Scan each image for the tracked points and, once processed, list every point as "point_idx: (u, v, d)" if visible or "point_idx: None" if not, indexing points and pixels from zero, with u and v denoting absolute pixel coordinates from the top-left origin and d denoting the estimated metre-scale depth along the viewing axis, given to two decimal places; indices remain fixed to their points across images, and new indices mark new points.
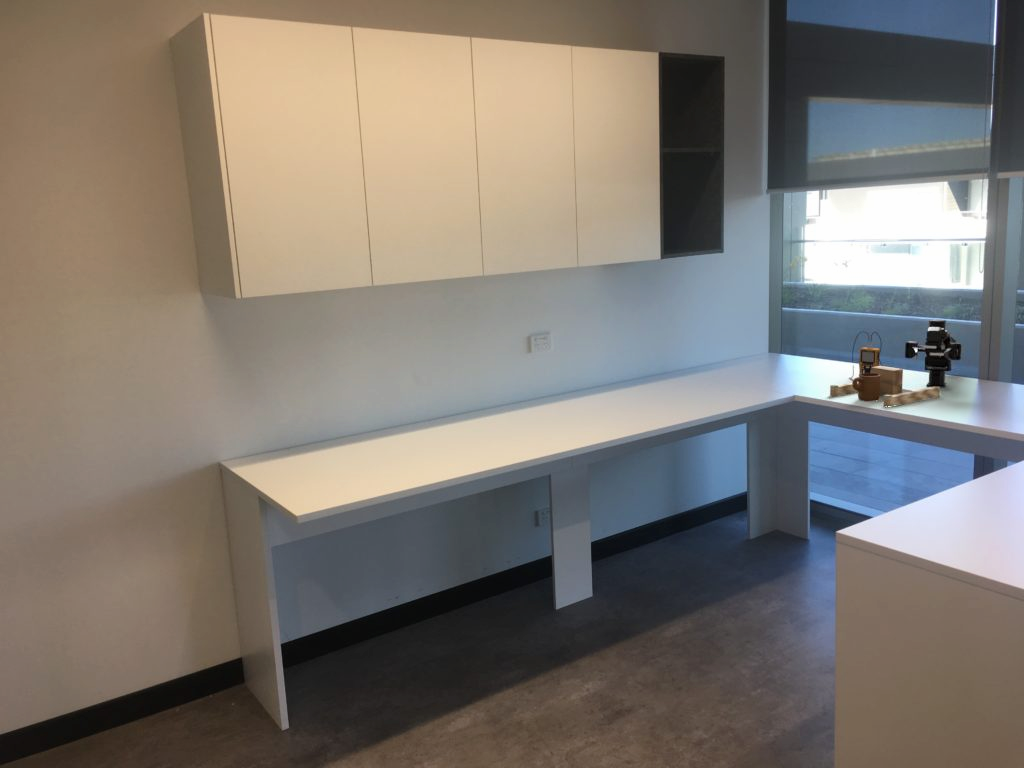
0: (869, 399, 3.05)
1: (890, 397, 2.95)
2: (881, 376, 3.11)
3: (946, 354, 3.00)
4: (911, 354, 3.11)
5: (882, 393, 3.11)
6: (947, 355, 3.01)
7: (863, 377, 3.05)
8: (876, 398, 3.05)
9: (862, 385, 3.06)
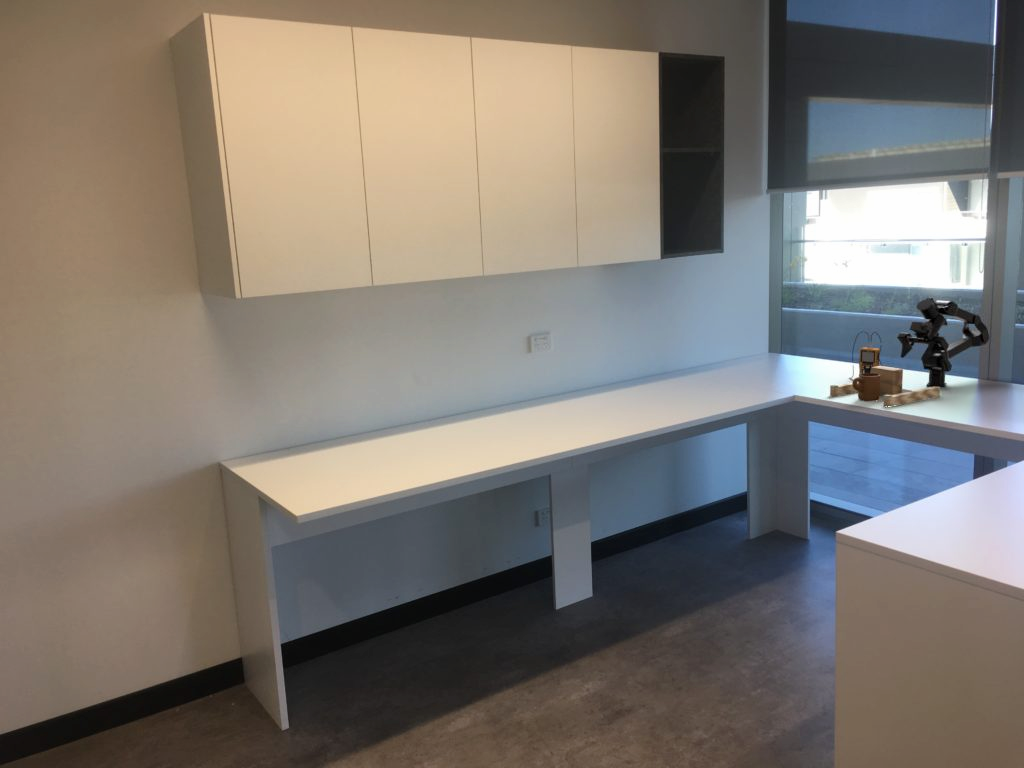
0: (869, 399, 3.05)
1: (890, 397, 2.95)
2: (881, 376, 3.11)
3: (925, 357, 3.12)
4: None
5: (882, 393, 3.11)
6: (927, 356, 3.13)
7: (863, 377, 3.05)
8: (876, 398, 3.05)
9: (862, 385, 3.06)
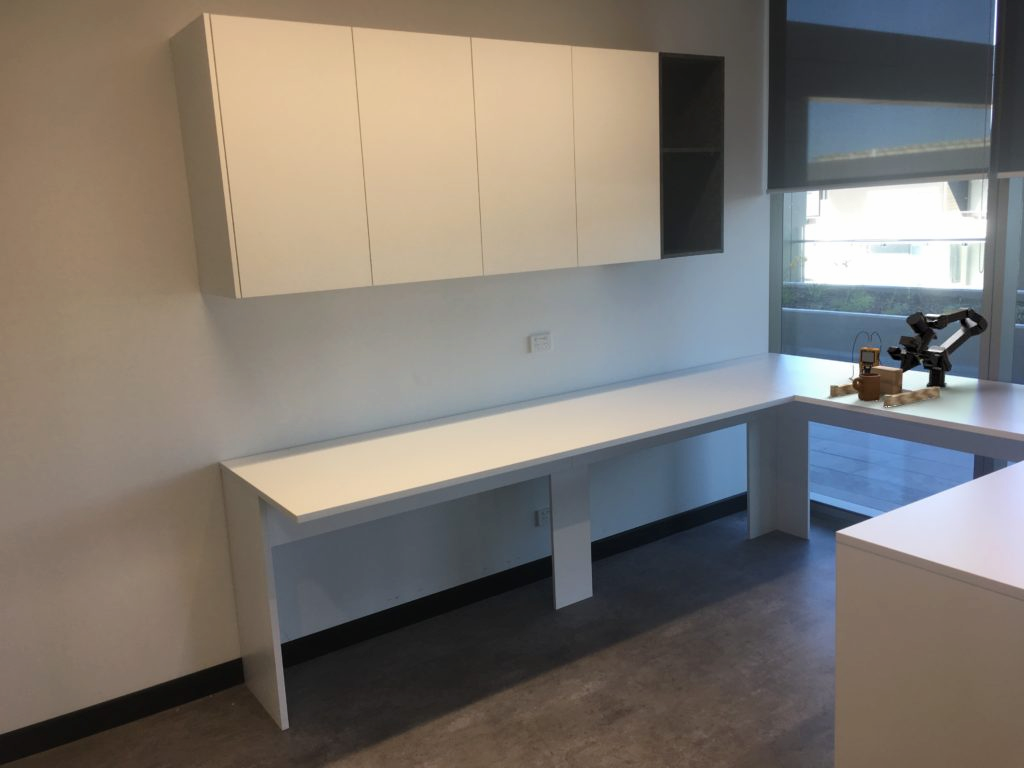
0: (869, 399, 3.05)
1: (890, 397, 2.95)
2: (881, 376, 3.11)
3: (904, 370, 3.15)
4: None
5: (882, 393, 3.11)
6: (906, 369, 3.15)
7: (863, 377, 3.05)
8: (876, 398, 3.05)
9: (862, 385, 3.06)
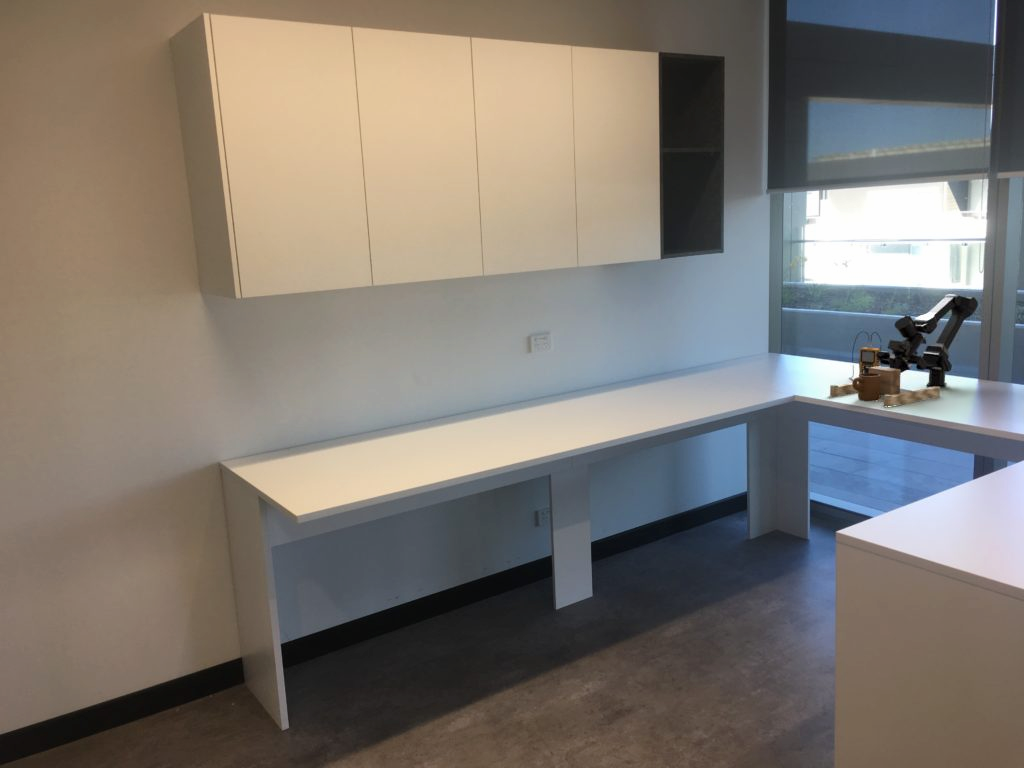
0: (869, 399, 3.05)
1: (890, 397, 2.95)
2: None
3: None
4: None
5: (880, 393, 3.11)
6: None
7: (863, 377, 3.05)
8: (876, 398, 3.05)
9: (862, 385, 3.06)
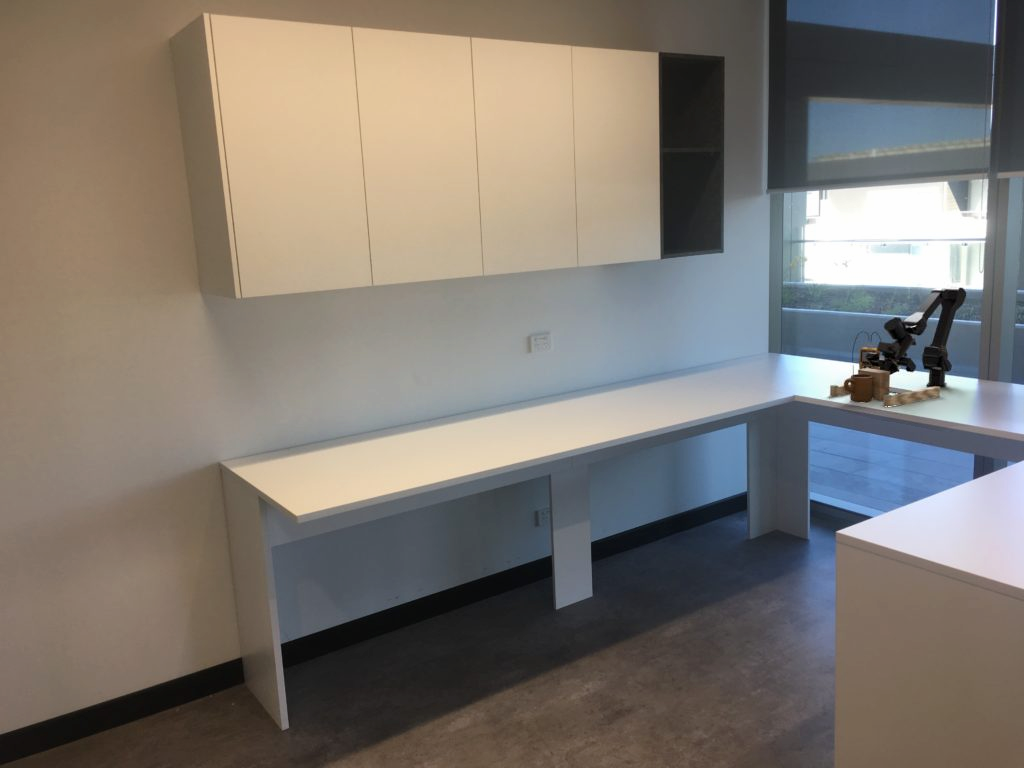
0: (861, 400, 3.04)
1: (890, 397, 2.95)
2: None
3: None
4: None
5: None
6: None
7: (855, 378, 3.04)
8: (868, 399, 3.04)
9: (854, 386, 3.05)
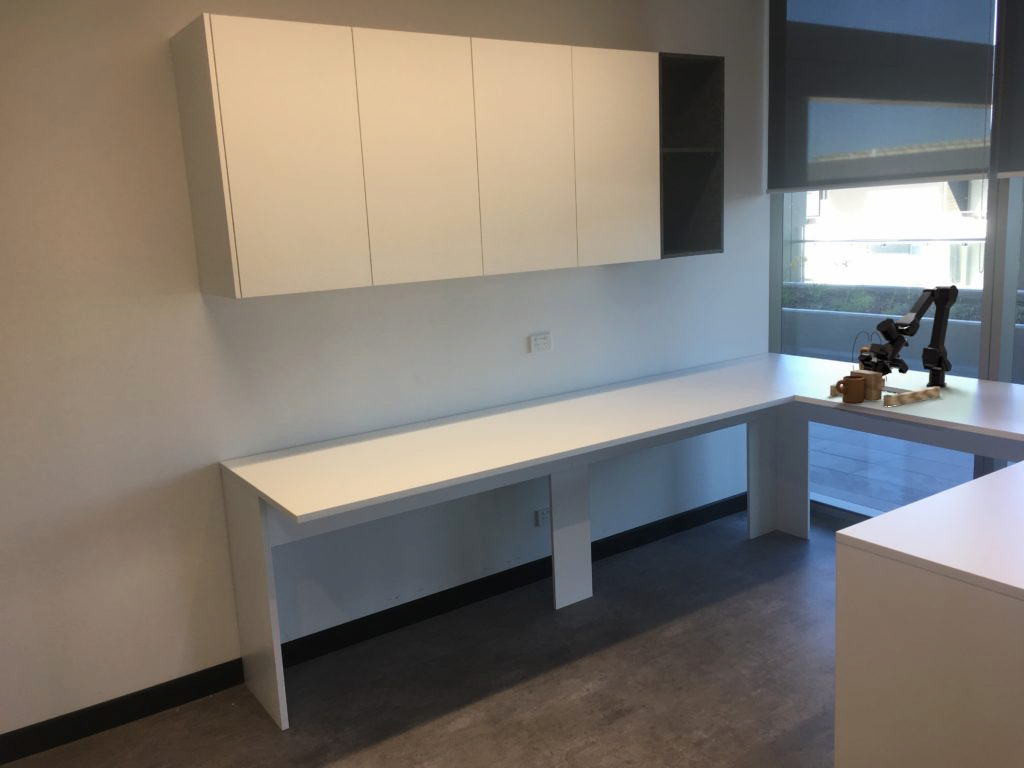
0: (853, 402, 3.02)
1: (890, 397, 2.95)
2: None
3: None
4: None
5: None
6: None
7: (847, 380, 3.02)
8: (860, 401, 3.02)
9: (846, 388, 3.03)
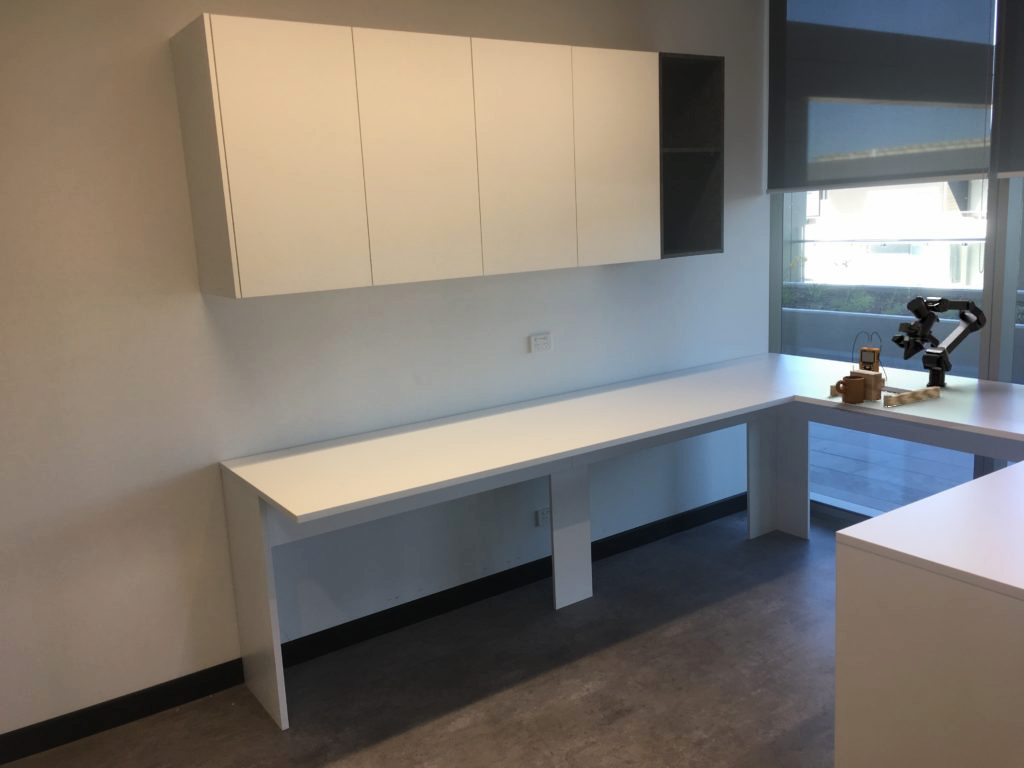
0: (852, 402, 3.02)
1: (890, 397, 2.95)
2: None
3: (908, 356, 3.14)
4: None
5: None
6: (910, 355, 3.14)
7: (846, 380, 3.02)
8: (860, 401, 3.02)
9: (846, 388, 3.03)
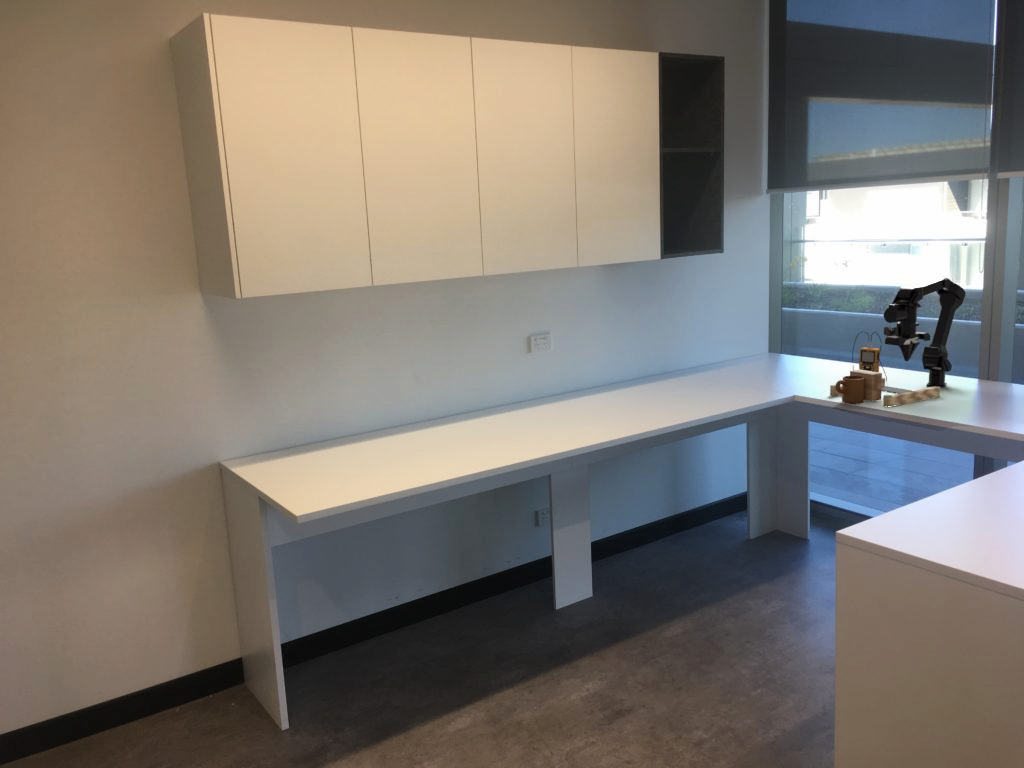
0: (852, 402, 3.02)
1: (890, 397, 2.95)
2: None
3: (905, 357, 3.15)
4: None
5: None
6: (906, 355, 3.14)
7: (846, 380, 3.02)
8: (860, 401, 3.02)
9: (846, 388, 3.03)
